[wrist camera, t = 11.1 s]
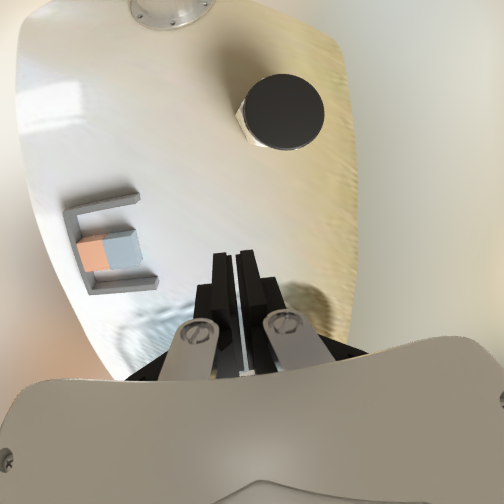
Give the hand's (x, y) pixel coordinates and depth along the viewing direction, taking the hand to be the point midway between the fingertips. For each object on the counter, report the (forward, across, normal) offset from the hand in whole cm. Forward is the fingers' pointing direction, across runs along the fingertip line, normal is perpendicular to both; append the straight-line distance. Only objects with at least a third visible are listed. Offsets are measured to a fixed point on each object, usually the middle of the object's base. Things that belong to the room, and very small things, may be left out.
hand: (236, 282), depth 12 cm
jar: (+29, -6, -8) cm, 31 cm away
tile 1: (+29, +17, +9) cm, 35 cm away
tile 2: (+29, +22, +9) cm, 38 cm away
